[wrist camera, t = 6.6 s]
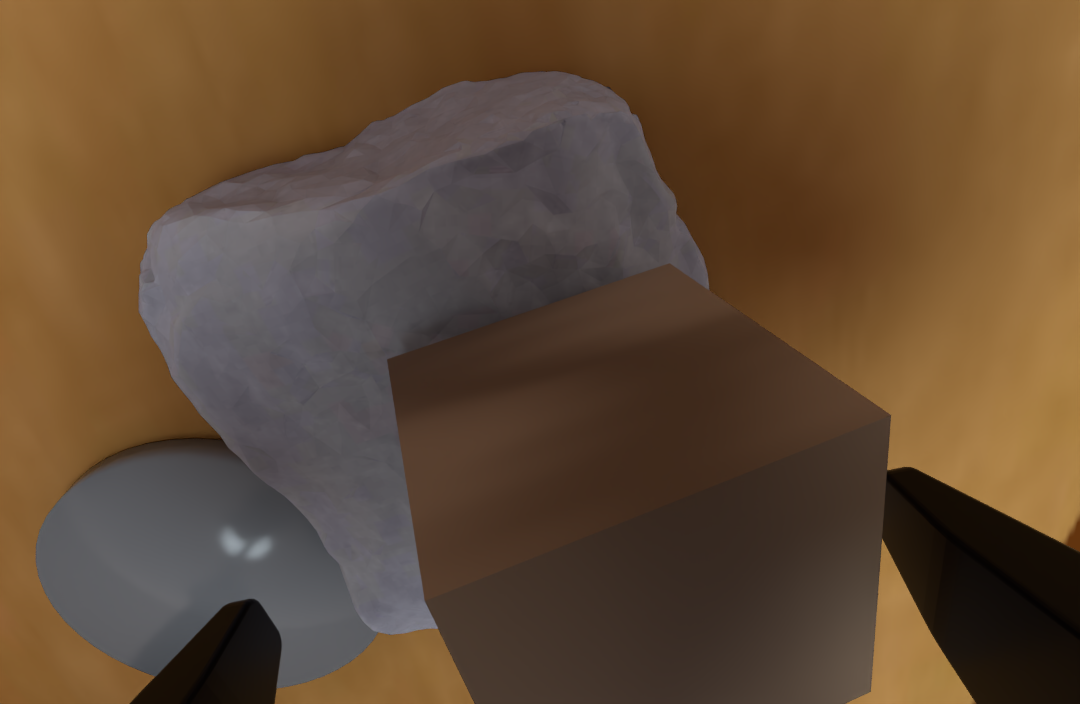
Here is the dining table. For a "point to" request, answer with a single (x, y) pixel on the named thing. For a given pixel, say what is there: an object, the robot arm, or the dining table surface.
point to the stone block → (393, 288)
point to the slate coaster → (192, 560)
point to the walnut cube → (643, 504)
